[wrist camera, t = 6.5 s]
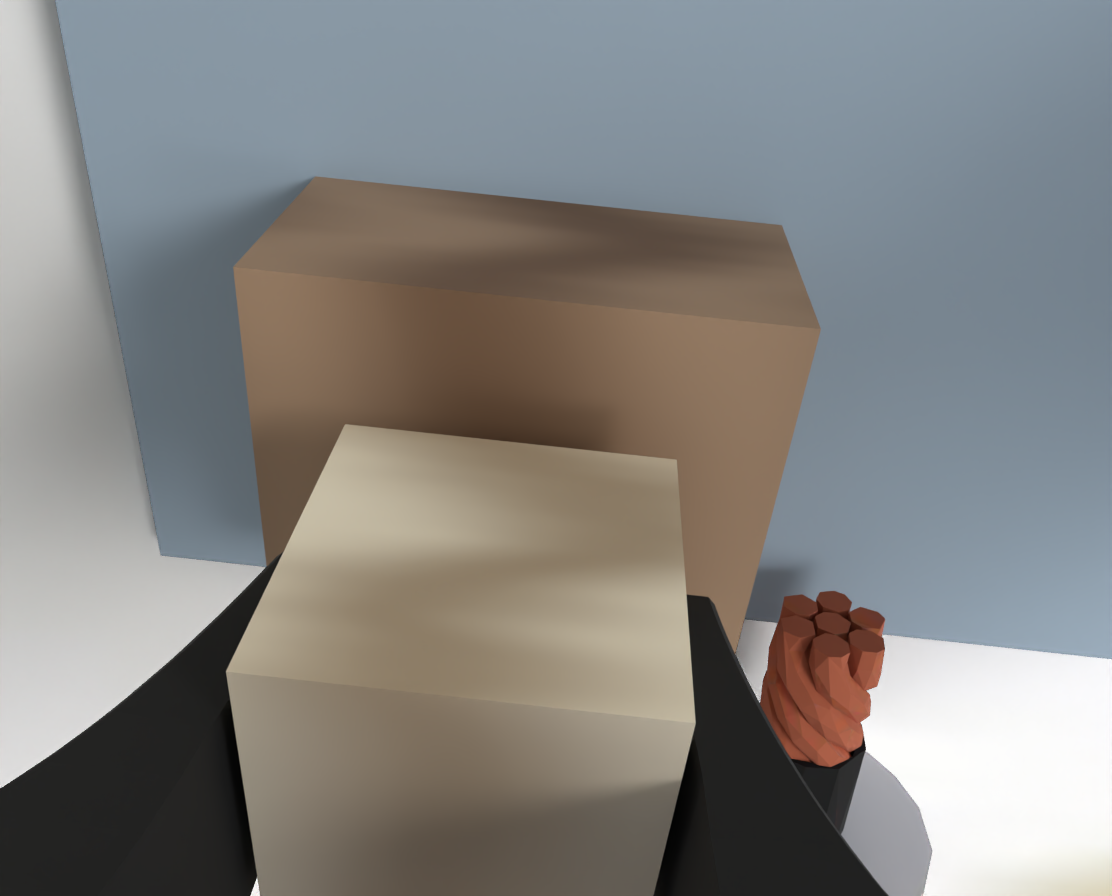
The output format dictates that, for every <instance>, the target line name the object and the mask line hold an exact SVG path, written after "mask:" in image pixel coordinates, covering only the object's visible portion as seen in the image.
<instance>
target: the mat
mask: <svg viewBox="0 0 1112 896" xmlns="http://www.w3.org/2000/svg"><path fill="white" fill-rule="evenodd" d="M55 3H56V8H57V13H58V18H59V24H60V29H61V34H62V39H63V45H64V50H65V55H66V60H67V66H68V71H69V76H70V81H71V87H72V92H73V97H74V102H75V108H76V113H77V118H78V123H79V129H80V134H81V139H82V144H83V150H84V155H85V160H86V165H87V171H88V176H89V181H90V186H91V192H92V197H93V202H94V207H95V213H96V218H97V223H98V228H99V234H100V239H101V244H102V249H103V255H104V260H105V265H106V270H107V276H108V281H109V286H110V291H111V297H112V302H113V307H114V312H115V318H116V323H117V328H118V333H119V339H120V344H121V349H122V354H123V360H124V365H125V370H126V375H127V381H128V386H129V391H130V396H131V401H132V407H133V412H134V417H135V422H136V428H137V433H138V438H139V443H140V449H141V454H142V459H143V464H144V470H145V475H146V480H147V485H148V491H149V496H150V501H151V506H152V512H153V517H154V522H155V527H156V533H157V538H158V543H159V548H160V554H161V555H162V556H171V557H180V558H189V559H198V560H207V561H217V562H226V563H235V564H244V565H253V566H262V567H266V558H265V549H264V540H263V531H262V522H261V513H260V504H259V495H258V486H257V477H256V468H255V459H254V450H253V441H252V432H251V423H250V414H249V405H248V396H247V387H246V378H245V369H244V360H243V351H242V342H241V333H240V324H239V315H238V306H237V297H236V288H235V280H234V271H233V267H234V266H235V264H236V263H237V262H238V261H239V260H240V259H241V258H242V257H243V256H244V255H245V253H246V252H247V251H248V250H249V249H250V248H251V247H252V246H253V245H254V243H255V242H256V241H257V240H258V239H259V238H260V237H261V236H262V235H263V234H264V232H265V231H266V230H267V229H268V228H269V227H270V226H271V225H272V224H273V223H274V221H275V220H276V219H277V218H278V217H279V216H280V215H281V214H282V213H283V212H284V210H285V209H286V208H287V207H288V206H289V205H290V204H291V203H292V202H293V201H294V199H295V198H296V197H297V196H298V195H299V194H300V193H301V192H302V191H303V190H304V188H305V187H306V186H307V185H308V184H309V183H310V182H311V181H312V180H313V178H314V177H315V176H317V177H326V178H336V179H345V180H355V181H364V182H374V183H384V184H393V185H403V186H412V187H422V188H431V189H441V190H450V191H460V192H470V193H479V194H489V195H498V196H508V197H517V198H527V199H536V200H546V201H555V202H565V203H575V204H584V205H594V206H603V207H613V208H622V209H632V210H641V211H651V212H661V213H670V214H680V215H689V216H699V217H708V218H718V219H727V220H737V221H746V222H756V223H766V224H775V225H782V227H783V229H784V232H785V235H786V237H787V240H788V243H789V245H790V248H791V251H792V253H793V256H794V259H795V261H796V264H797V267H798V269H799V272H800V275H801V277H802V280H803V283H804V285H805V288H806V291H807V293H808V296H809V299H810V301H811V304H812V307H813V309H814V312H815V315H816V317H817V320H818V323H819V325H820V328H821V331H820V335H819V338H818V342H817V346H816V350H815V354H814V357H813V361H812V365H811V369H810V373H809V376H808V380H807V384H806V388H805V391H804V395H803V399H802V403H801V407H800V410H799V414H798V418H797V422H796V426H795V429H794V433H793V437H792V441H791V445H790V448H789V452H788V456H787V460H786V463H785V467H784V471H783V475H782V479H781V482H780V486H779V490H778V494H777V498H776V501H775V505H774V509H773V513H772V516H771V520H770V524H769V528H768V532H767V535H766V539H765V543H764V547H763V551H762V554H761V558H760V562H759V566H758V569H757V573H756V577H755V581H754V585H753V588H752V592H751V596H750V600H749V604H748V607H747V611H746V615H745V619H748V620H757V621H767V622H776V623H778V621H779V618H780V614H781V610H782V605H783V600H784V597H785V596H793V595H800V594H803V595H804V596H806V597H808V598H810V599H811V600H813V601H815V602H816V598H817V596H818V594H819V593H820V592H825V591H836V592H839V593H842V594H845V595H846V596H847V597H848V599H849V600H850V601H851V602H852V605H851V609H850V611H852V610H854V609H857V608H859V607H863V608H866V609H870V610H873V611H876V612H879V613H880V614H881V615H882V616H883V617H884V618H885V623H884V628H883V633H882V634H886V635H895V636H904V637H913V638H922V639H932V640H941V641H950V642H959V643H968V644H977V645H987V646H996V647H1005V648H1014V649H1023V650H1032V651H1042V652H1051V653H1060V654H1069V655H1078V656H1087V657H1097V658H1106V659H1112V0H55Z"/></svg>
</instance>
